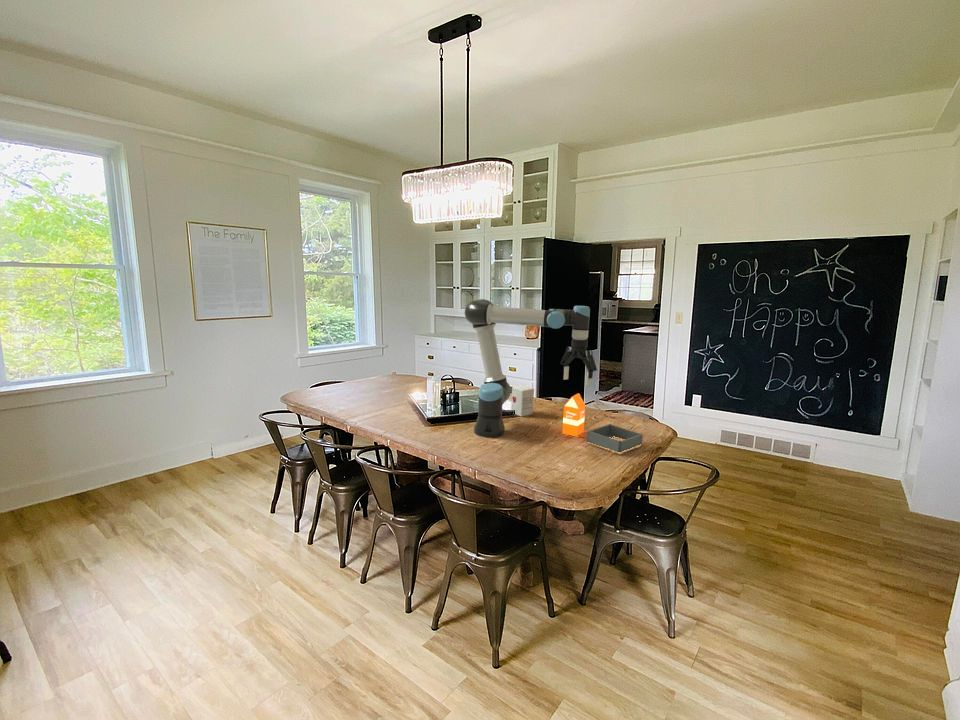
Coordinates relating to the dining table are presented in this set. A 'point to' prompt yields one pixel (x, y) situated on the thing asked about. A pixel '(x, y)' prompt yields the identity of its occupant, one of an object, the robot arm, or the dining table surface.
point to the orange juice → (574, 416)
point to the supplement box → (522, 400)
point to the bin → (603, 433)
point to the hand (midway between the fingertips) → (576, 382)
